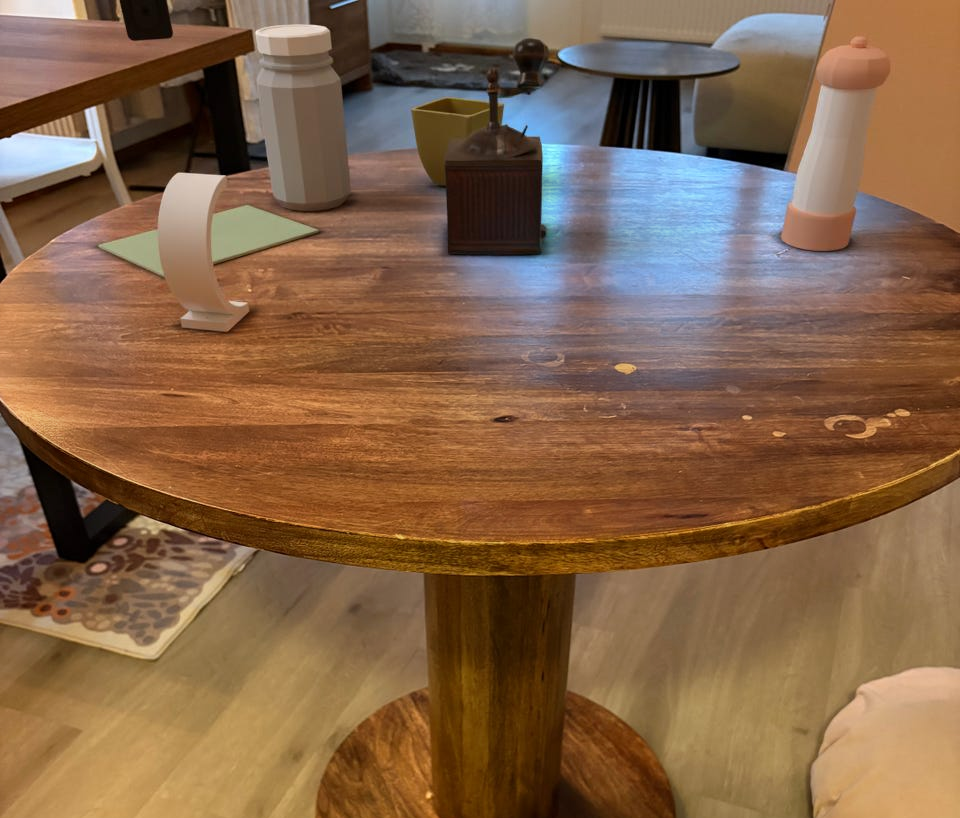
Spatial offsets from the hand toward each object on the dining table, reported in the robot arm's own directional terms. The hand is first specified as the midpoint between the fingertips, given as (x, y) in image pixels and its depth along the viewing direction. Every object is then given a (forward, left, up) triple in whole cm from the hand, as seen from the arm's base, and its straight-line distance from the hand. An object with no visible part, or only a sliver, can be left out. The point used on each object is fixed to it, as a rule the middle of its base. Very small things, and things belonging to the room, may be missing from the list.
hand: (150, 28), depth 70 cm
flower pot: (+49, +16, -23) cm, 56 cm away
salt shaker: (+60, -29, -23) cm, 71 cm away
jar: (+31, +24, -23) cm, 45 cm away
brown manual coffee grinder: (+38, -1, -23) cm, 44 cm away
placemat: (+14, +21, -23) cm, 34 cm away
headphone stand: (+1, +1, -23) cm, 23 cm away
